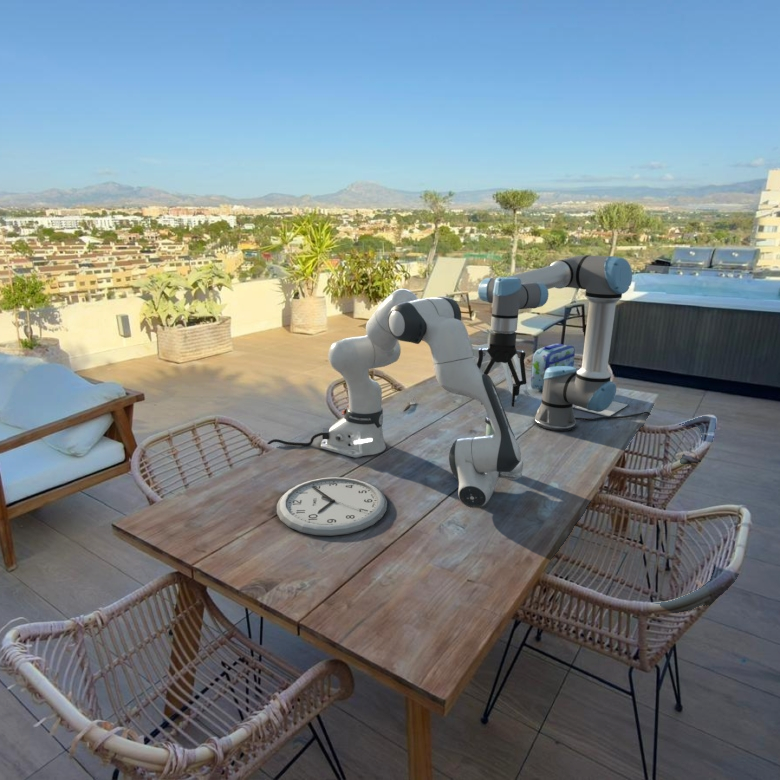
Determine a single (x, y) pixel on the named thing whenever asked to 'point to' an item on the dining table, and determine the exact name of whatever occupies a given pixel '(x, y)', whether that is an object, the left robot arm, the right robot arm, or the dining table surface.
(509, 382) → the white plastic object
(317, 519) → the wall clock
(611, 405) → the invitation card
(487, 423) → the lid
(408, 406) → the fork
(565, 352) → the lunch box
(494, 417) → the left robot arm
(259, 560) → the dining table surface
